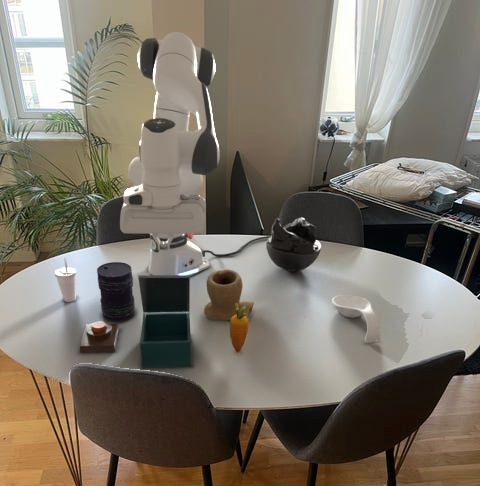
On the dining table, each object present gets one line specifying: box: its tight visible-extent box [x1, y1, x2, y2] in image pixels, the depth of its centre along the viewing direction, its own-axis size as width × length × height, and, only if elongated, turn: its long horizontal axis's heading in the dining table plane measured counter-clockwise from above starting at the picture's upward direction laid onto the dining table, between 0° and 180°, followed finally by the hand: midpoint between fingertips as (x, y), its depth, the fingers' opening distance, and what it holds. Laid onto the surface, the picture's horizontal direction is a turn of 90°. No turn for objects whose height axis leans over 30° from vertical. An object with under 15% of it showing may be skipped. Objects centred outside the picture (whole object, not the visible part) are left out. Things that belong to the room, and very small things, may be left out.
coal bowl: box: [265, 216, 322, 272], centre depth 171 cm, size 20×20×19 cm
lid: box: [137, 274, 191, 314], centre depth 122 cm, size 15×13×1 cm
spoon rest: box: [331, 294, 382, 344], centre depth 143 cm, size 24×12×7 cm, turn 12°
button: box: [91, 320, 106, 333], centre depth 127 cm, size 4×4×2 cm
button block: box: [78, 322, 120, 354], centre depth 128 cm, size 11×9×4 cm
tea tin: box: [139, 312, 192, 369], centre depth 125 cm, size 15×13×8 cm
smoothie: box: [54, 258, 78, 303], centre depth 144 cm, size 6×6×14 cm
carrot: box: [229, 303, 250, 354], centre depth 124 cm, size 5×5×15 cm
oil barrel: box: [96, 261, 136, 323], centre depth 138 cm, size 10×10×15 cm
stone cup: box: [203, 269, 255, 321], centre depth 140 cm, size 15×12×15 cm
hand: (163, 249), depth 117 cm, fingers closed
